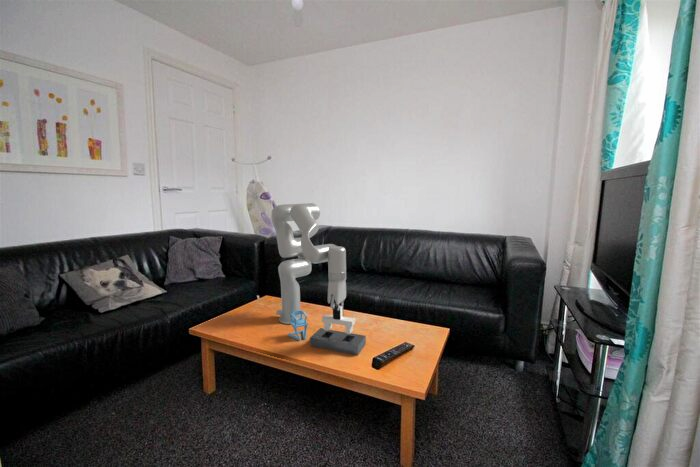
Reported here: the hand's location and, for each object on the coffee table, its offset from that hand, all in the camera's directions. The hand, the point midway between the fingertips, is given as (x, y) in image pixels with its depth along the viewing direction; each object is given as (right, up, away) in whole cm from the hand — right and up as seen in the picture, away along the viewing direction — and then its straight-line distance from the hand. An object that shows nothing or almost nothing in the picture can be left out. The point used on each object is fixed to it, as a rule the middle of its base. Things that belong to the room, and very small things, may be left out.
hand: (338, 317), depth 137 cm
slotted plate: (0, -13, +2) cm, 13 cm away
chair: (-18, -12, +10) cm, 24 cm away
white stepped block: (0, -6, +1) cm, 6 cm away
